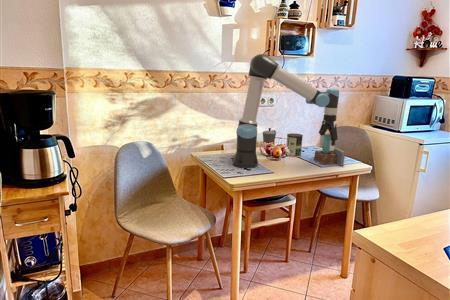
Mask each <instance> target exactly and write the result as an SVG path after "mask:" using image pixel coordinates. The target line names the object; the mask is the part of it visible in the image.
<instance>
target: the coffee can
mask: <svg viewBox="0 0 450 300" xmlns="http://www.w3.org/2000/svg"><path fill="white" fill-rule="evenodd" d="M303 136H304V135H303V134H300V133H287V135H286V146H287V147H288V149H289V151H290V153H289V156H288V157H291V158H300V157H301V156H302V148H303V147H302V146H303Z"/></svg>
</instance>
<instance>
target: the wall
mask: <svg viewBox="0 0 450 300" xmlns="http://www.w3.org/2000/svg"><path fill="white" fill-rule="evenodd" d="M331 152H333V153H335V154H336V155H337V159H336V164H335V165H337V166H339V167H344V166H345V165H344V163H345V158H346V157H345V156H346V151H344V150H342V149H341V148H340V149H339V148H338V147H336V146H334V151H331Z"/></svg>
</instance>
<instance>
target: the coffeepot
mask: <svg viewBox="0 0 450 300" xmlns="http://www.w3.org/2000/svg"><path fill="white" fill-rule="evenodd" d="M276 135H277V131H276V130H275V129H273V130H272V128H271V127H269V128H268V130H264V131H262V140H263V143H264V142H266V143H270V142H274V143H275V140H276Z"/></svg>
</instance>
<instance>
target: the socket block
mask: <svg viewBox="0 0 450 300" xmlns="http://www.w3.org/2000/svg"><path fill="white" fill-rule="evenodd" d="M313 158H314V159H313V160H314V161H315V162H317V163H318V162H319V163H318V164H320V165H337V164H336V159H337V155H336V154H335V153H333V152H331V151H330V153H329V154H323V153H322V150H315V151H314V157H313Z"/></svg>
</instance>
